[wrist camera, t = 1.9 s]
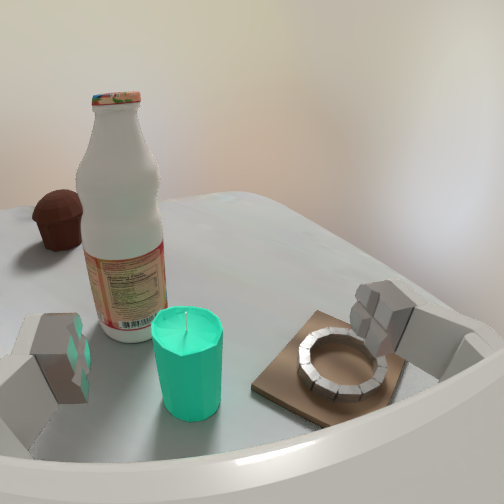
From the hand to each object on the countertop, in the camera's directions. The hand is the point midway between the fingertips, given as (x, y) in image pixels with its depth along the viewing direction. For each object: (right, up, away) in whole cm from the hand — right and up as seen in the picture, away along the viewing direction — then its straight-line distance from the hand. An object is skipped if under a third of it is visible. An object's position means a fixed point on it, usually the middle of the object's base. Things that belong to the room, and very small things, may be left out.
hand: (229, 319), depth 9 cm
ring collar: (+11, -12, +27) cm, 31 cm away
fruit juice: (-15, -7, +32) cm, 36 cm away
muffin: (-36, +4, +48) cm, 60 cm away
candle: (-6, -14, +22) cm, 27 cm away
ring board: (+11, -12, +27) cm, 31 cm away
